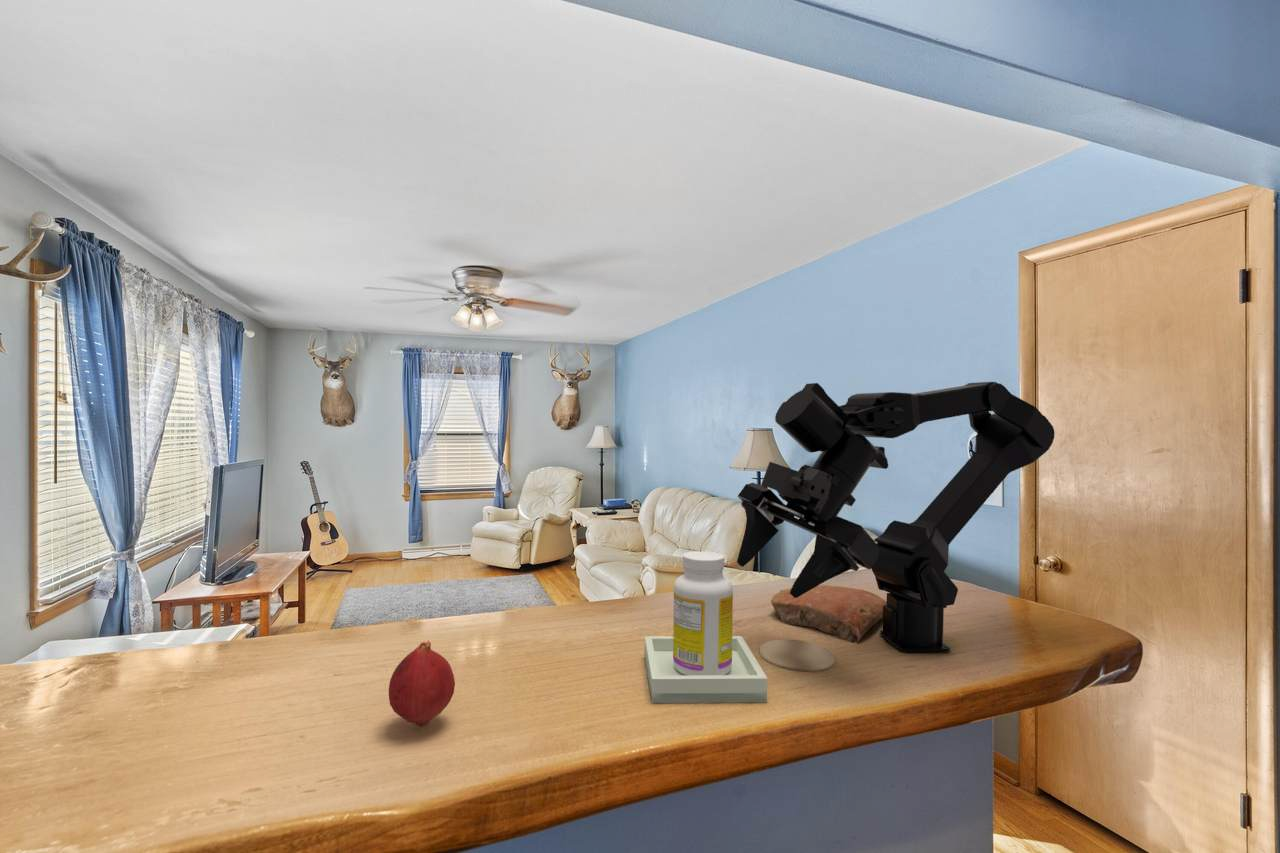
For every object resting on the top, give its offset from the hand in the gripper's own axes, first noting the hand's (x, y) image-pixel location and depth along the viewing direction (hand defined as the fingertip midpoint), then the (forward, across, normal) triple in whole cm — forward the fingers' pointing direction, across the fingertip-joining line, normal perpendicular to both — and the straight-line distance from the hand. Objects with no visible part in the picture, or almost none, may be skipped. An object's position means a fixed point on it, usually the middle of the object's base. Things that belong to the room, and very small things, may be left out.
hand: (764, 579), depth 72 cm
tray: (+13, +1, -1) cm, 13 cm away
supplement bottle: (+13, +1, -1) cm, 13 cm away
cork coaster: (+5, +2, +10) cm, 12 cm away
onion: (+32, -3, -24) cm, 40 cm away
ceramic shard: (-2, -6, +23) cm, 24 cm away
